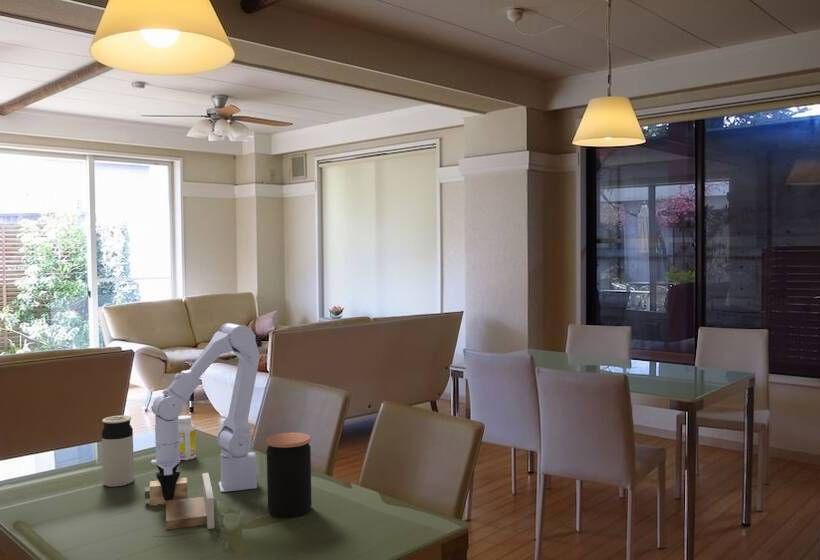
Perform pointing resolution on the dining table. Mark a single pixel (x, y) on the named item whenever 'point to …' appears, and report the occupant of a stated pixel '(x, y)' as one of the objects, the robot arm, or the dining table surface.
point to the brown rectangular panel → (185, 513)
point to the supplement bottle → (186, 438)
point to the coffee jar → (289, 474)
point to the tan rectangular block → (157, 496)
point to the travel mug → (117, 451)
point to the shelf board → (208, 500)
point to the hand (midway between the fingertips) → (168, 494)
